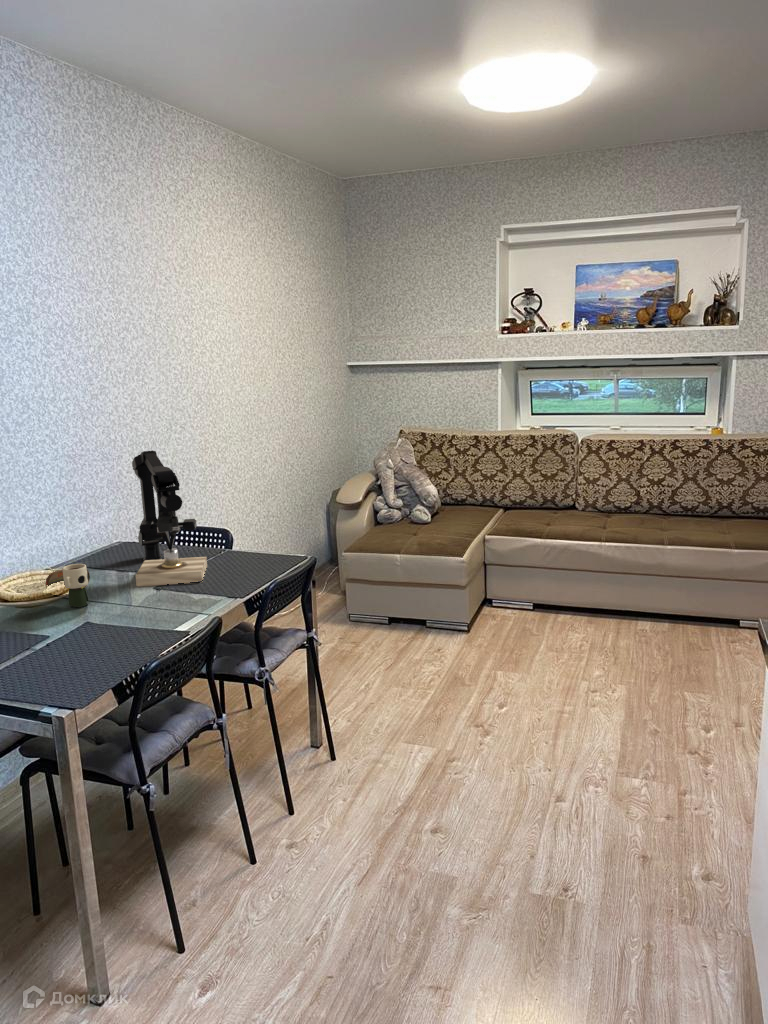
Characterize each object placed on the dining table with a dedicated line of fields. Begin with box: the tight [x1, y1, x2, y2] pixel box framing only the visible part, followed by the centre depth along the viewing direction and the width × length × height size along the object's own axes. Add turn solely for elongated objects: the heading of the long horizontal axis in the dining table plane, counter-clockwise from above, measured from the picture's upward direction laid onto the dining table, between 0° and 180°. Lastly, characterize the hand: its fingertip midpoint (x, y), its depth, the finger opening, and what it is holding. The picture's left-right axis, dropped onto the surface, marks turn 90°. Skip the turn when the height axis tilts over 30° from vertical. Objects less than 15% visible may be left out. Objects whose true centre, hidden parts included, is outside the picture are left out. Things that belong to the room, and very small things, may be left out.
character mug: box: [61, 563, 90, 608], centre depth 249 cm, size 11×7×13 cm, turn 173°
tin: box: [45, 569, 91, 588], centre depth 263 cm, size 15×3×8 cm, turn 143°
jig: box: [135, 556, 208, 587], centre depth 277 cm, size 18×22×4 cm
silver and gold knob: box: [162, 547, 182, 569], centre depth 276 cm, size 7×7×9 cm
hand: (170, 549), depth 275 cm, fingers closed
